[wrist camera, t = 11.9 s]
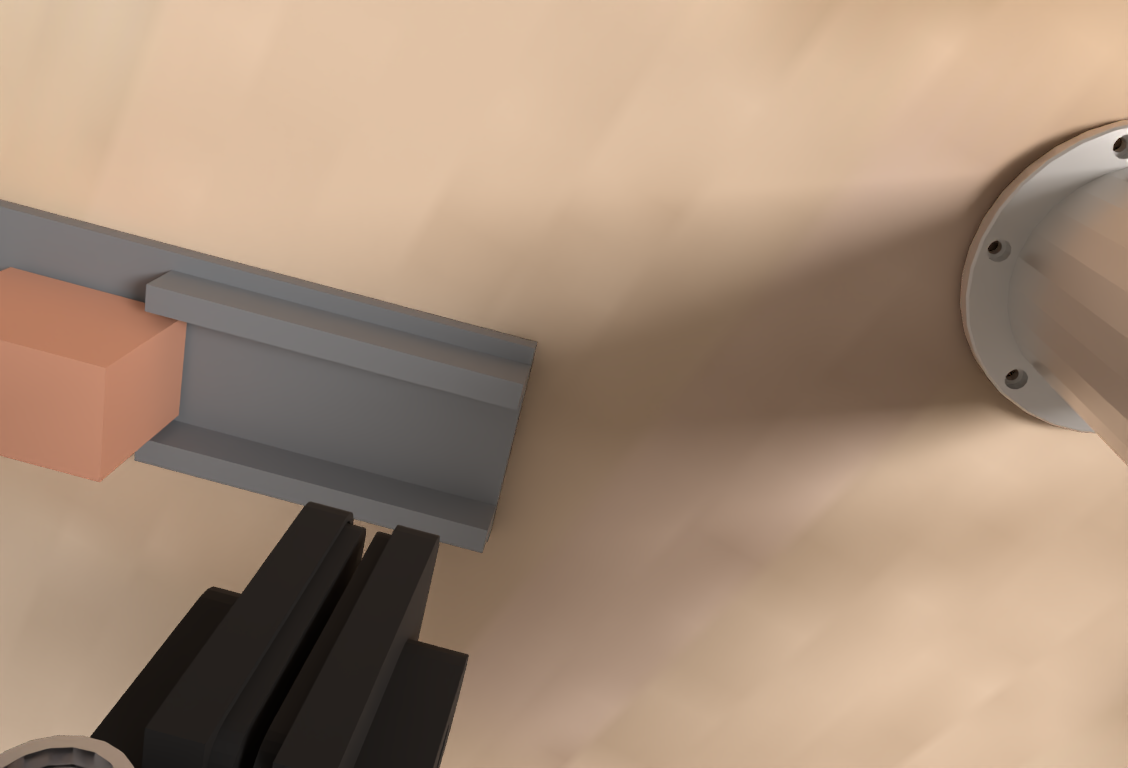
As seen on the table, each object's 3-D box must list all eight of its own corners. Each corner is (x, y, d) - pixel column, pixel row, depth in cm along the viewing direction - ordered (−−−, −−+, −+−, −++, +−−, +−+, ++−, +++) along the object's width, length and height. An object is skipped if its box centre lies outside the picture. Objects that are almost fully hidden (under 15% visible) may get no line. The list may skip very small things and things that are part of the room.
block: (187, 314, 41) (105, 368, 35) (178, 415, 43) (99, 482, 37) (10, 266, 41) (-102, 312, 35) (9, 369, 43) (-96, 429, 37)
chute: (537, 342, 41) (527, 366, 39) (490, 532, 45) (478, 567, 43) (-83, 177, 42) (-137, 190, 39) (-77, 381, 45) (-125, 406, 43)
